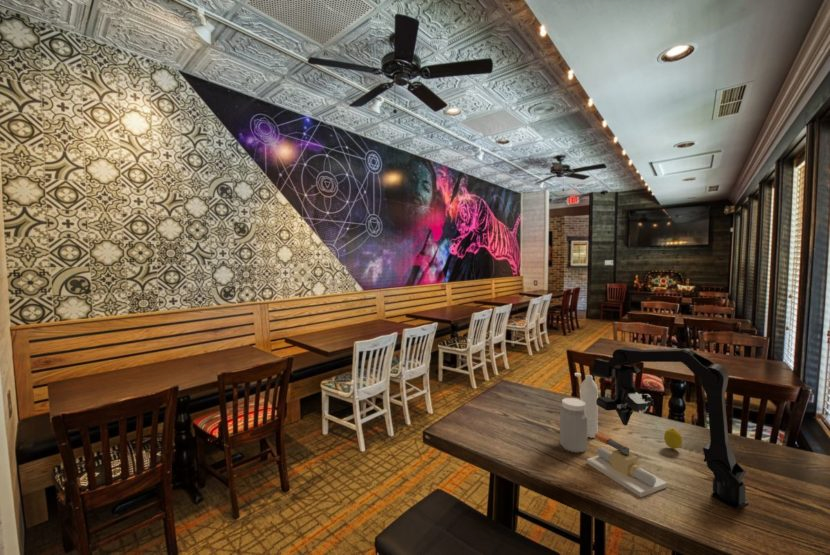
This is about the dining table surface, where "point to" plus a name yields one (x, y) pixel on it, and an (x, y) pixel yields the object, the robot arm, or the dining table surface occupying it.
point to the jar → (573, 425)
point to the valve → (626, 472)
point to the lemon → (673, 438)
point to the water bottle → (590, 403)
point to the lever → (612, 443)
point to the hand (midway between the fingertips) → (624, 424)
